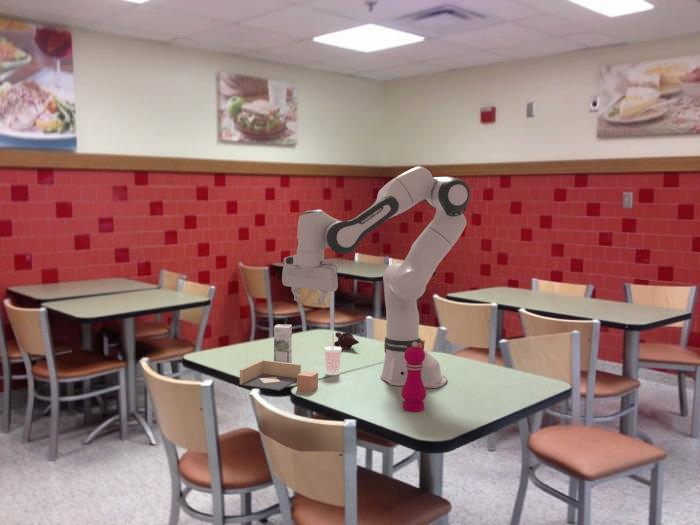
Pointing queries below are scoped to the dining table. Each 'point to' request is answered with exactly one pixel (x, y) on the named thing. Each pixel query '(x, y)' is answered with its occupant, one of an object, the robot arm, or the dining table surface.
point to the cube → (307, 381)
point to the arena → (269, 374)
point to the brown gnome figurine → (345, 340)
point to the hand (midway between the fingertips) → (309, 302)
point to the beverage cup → (332, 359)
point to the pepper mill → (414, 380)
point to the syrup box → (283, 343)
